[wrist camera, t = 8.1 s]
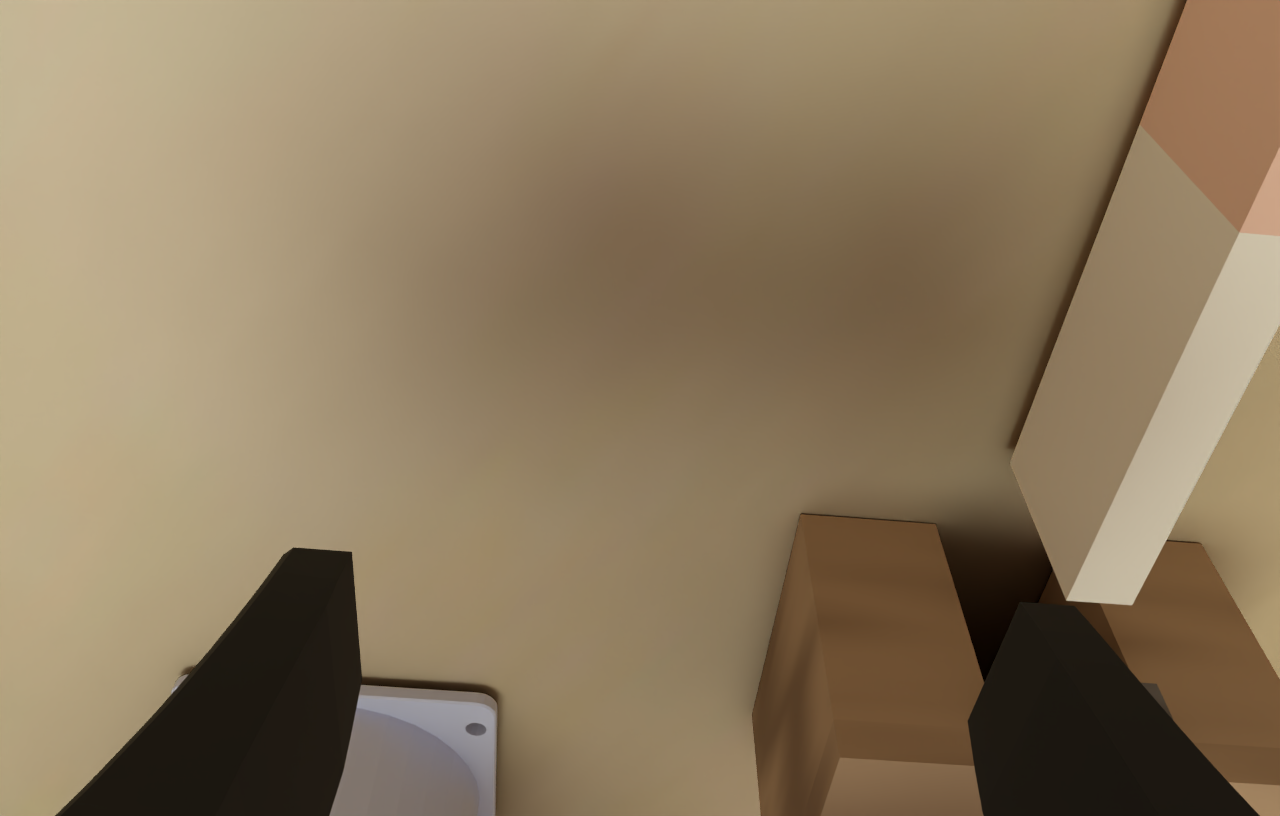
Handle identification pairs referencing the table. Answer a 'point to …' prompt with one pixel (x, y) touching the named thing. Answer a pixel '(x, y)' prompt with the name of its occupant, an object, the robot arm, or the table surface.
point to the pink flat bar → (1163, 309)
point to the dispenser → (973, 674)
